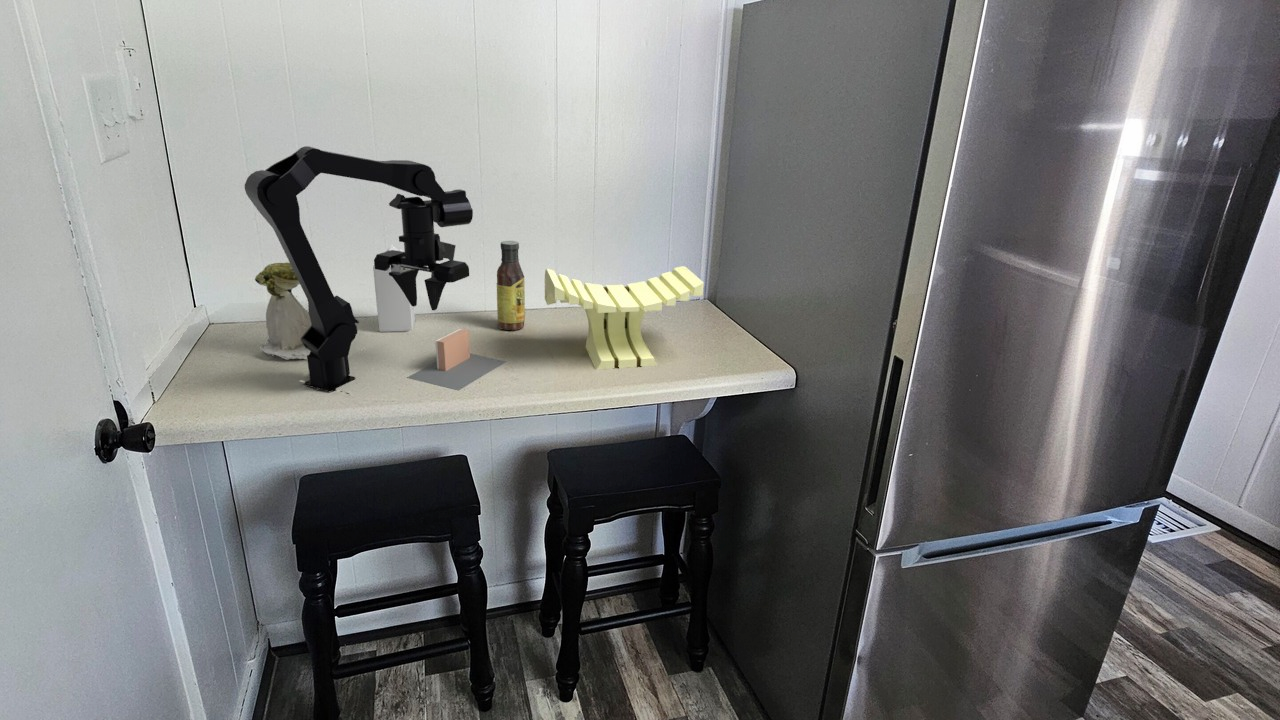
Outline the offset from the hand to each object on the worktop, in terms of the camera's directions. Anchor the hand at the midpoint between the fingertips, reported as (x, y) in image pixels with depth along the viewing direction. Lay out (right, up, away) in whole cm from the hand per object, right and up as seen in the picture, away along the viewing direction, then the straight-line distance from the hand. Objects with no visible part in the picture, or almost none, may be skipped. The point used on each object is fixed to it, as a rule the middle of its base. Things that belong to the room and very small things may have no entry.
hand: (424, 307), depth 141 cm
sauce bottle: (+13, -3, +24) cm, 28 cm away
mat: (+7, -13, -1) cm, 14 cm away
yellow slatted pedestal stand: (+38, -9, +12) cm, 41 cm away
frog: (-28, -8, +6) cm, 30 cm away
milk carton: (-12, -3, +21) cm, 24 cm away
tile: (+5, -11, +2) cm, 12 cm away
